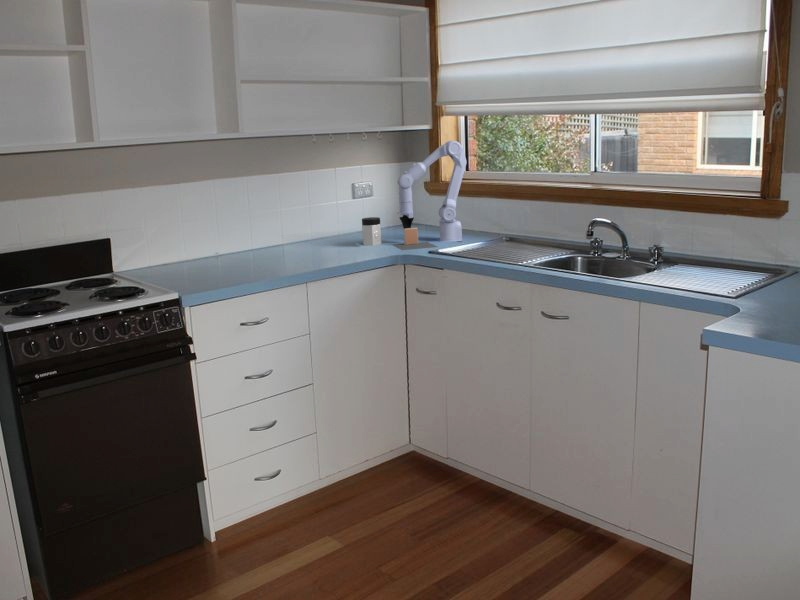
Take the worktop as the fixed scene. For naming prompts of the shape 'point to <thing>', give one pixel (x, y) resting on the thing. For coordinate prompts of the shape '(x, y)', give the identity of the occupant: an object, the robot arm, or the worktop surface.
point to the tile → (410, 236)
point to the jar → (371, 231)
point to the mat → (415, 246)
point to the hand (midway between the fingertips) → (407, 232)
